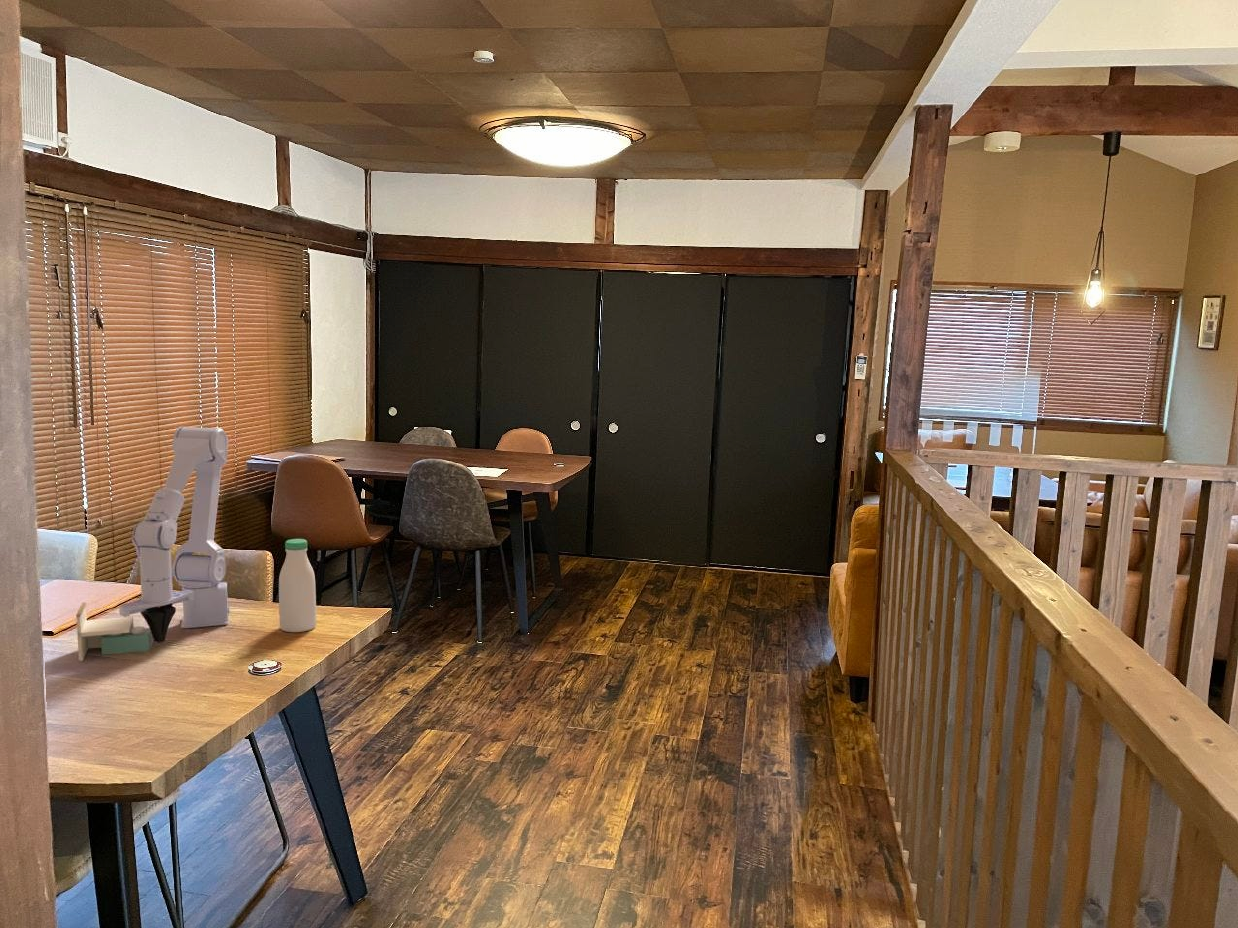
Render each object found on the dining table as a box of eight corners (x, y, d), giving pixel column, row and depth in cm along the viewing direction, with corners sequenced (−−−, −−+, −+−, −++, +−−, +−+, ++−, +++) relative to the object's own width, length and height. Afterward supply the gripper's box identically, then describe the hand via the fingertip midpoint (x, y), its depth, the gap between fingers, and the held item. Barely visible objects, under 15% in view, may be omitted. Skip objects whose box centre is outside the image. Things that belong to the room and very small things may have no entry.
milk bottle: (322, 628, 202) (321, 541, 199) (290, 635, 197) (288, 546, 194) (305, 619, 207) (303, 534, 204) (273, 627, 202) (271, 540, 199)
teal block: (152, 643, 189) (151, 624, 189) (148, 650, 185) (147, 631, 185) (106, 646, 187) (105, 627, 186) (102, 654, 183) (100, 634, 182)
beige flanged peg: (134, 642, 189) (132, 598, 188) (130, 656, 182) (128, 610, 181) (85, 647, 186) (82, 602, 184) (79, 661, 179) (76, 614, 177)
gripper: (179, 567, 193) (182, 628, 195) (110, 581, 181) (113, 646, 183) (198, 573, 189) (200, 635, 191) (128, 588, 177) (131, 654, 180)
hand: (159, 641), depth 187 cm, fingers closed
